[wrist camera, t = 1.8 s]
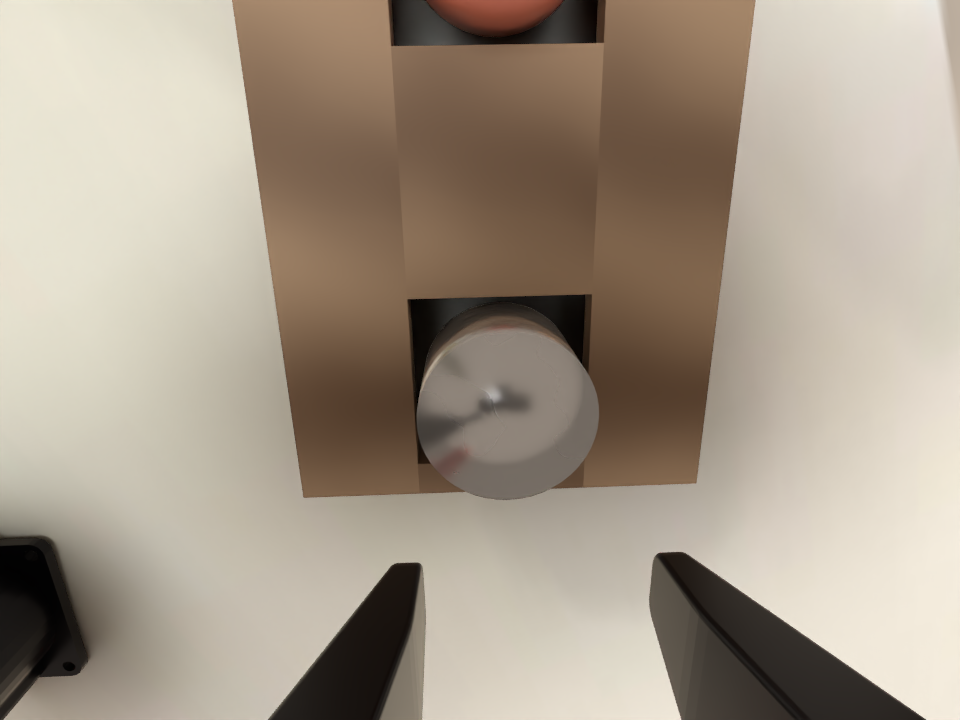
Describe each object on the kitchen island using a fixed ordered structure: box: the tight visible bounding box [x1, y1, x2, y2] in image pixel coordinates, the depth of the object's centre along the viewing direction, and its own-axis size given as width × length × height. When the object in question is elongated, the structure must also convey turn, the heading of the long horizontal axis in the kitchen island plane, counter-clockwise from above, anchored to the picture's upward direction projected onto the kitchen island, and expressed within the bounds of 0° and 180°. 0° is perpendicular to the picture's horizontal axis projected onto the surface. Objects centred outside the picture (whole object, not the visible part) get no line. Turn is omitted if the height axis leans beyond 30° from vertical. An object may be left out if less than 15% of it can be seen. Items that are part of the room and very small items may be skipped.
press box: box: [232, 0, 755, 498], centre depth 16 cm, size 18×12×4 cm, turn 1°
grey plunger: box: [417, 302, 599, 500], centre depth 15 cm, size 4×4×3 cm
